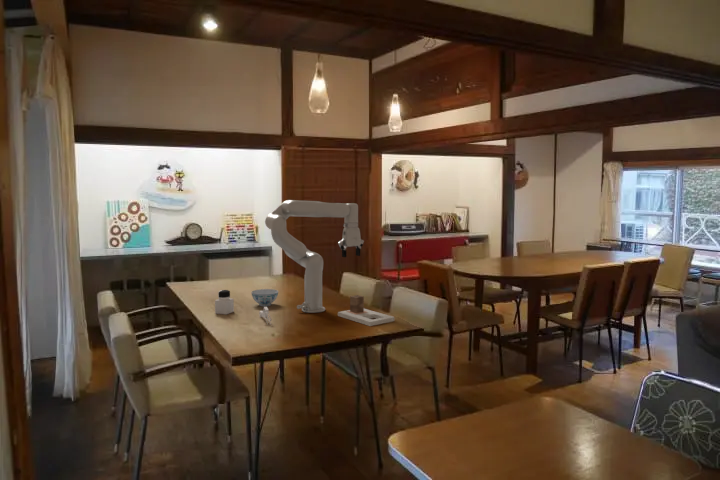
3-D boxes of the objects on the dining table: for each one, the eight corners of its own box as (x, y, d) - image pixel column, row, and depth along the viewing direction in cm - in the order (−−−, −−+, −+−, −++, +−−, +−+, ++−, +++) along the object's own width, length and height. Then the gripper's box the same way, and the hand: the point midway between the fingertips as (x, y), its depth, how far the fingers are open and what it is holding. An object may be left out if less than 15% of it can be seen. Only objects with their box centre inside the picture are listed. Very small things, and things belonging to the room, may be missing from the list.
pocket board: (370, 326, 258) (370, 321, 257) (337, 315, 278) (337, 311, 278) (394, 320, 268) (394, 316, 268) (361, 311, 288) (361, 307, 288)
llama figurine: (270, 336, 262) (262, 314, 277) (271, 317, 257) (263, 296, 272) (266, 336, 261) (258, 315, 276) (268, 317, 256) (260, 296, 271)
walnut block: (356, 313, 274) (356, 297, 274) (350, 311, 278) (350, 296, 278) (363, 311, 278) (363, 296, 277) (357, 310, 281) (357, 295, 281)
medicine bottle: (234, 311, 286) (233, 289, 285) (226, 314, 279) (226, 292, 278) (222, 310, 289) (222, 288, 287) (214, 313, 282) (214, 291, 281)
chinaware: (272, 308, 294) (272, 294, 293) (247, 307, 297) (247, 293, 296) (282, 302, 308) (282, 289, 308) (257, 301, 311) (257, 288, 311)
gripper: (342, 226, 287) (342, 258, 289) (367, 225, 298) (367, 255, 299) (334, 225, 293) (334, 256, 294) (359, 224, 303) (359, 254, 305)
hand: (351, 256), depth 297 cm, fingers open, 9 cm apart
